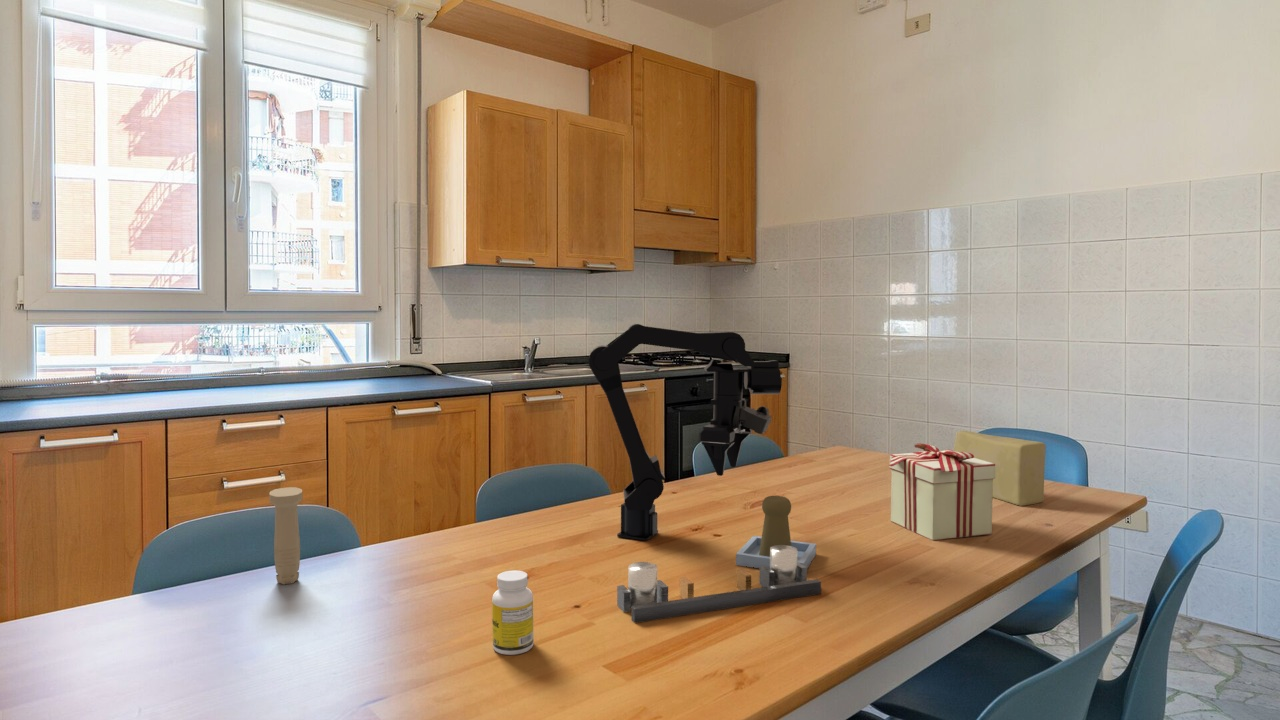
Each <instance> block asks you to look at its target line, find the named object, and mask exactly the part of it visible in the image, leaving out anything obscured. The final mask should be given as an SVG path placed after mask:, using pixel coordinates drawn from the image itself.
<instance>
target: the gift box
mask: <svg viewBox="0 0 1280 720" xmlns="http://www.w3.org/2000/svg"><path fill="white" fill-rule="evenodd" d="M914 448H918V449H921V450H920V451H915V452H914V451H913V452H907V453H905V452H904V453H892V454H889V464H888V466H889V469H890V470H891V477H890V478H891V481H890V483H891V484H890V486H891V487H890V522H892V523H894V524H896V525H898V526H900V527H903V528H904V529H906V530H909V531H911V532H913V533H915V534H918V536H919V535H920V536H921V537H923V538H926V539H928V540H930V541H938V540H949V539H960V538H968V537H969V538H970V537H977V536H986V535H992V534H993V533H992V532H993V499H994V498H993V479H995V464H994V463H991V462H987V461H984V460H980V459H977V458H974V455H973V454H971V453H966V452H955V451H954V449H945V450H941V449H939V448H938V447H937V446H934V445H931V444H926V443H921V442H920V443H916V444H914Z"/></svg>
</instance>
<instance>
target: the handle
mask: <svg viewBox="0 0 1280 720" xmlns="http://www.w3.org/2000/svg"><path fill="white" fill-rule="evenodd" d="M301 501H303V489H302V488H299V487H294V486H291V487H280V488H276V489H275V488H274V489H272V490H270V491H269V503H270V505H273V506H274V511H275V512H274V513H275V514H274V537H273V538H274V539H273V550H274V551H273V556H274V558H273V559H274V568H275V572H276V575H275V578H276V582H277V584H281V585H287V584H294V583H295V582H297V581H298V580H299V578H300V572H299V570H300V565H301V564H300V562H301V543H300V542H301V539H300V527H299V517H298V516H299V514H298V504H299V503H301Z"/></svg>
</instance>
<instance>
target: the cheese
mask: <svg viewBox="0 0 1280 720" xmlns="http://www.w3.org/2000/svg"><path fill="white" fill-rule="evenodd" d="M953 445H954V447H953V451H955V452H966V453H971V454H973V455H974V458H977V459H980V460H984V461H987V462H991V463H994V464H995V479H993V499H997V500H999V501H1003V502H1007V503H1008V504H1009V503H1010V504H1013V505H1015V506H1016V505H1017V506H1020V507H1023V506H1030V505H1034V504H1040V503H1042V502H1044V495H1045V493H1044V491H1045V473H1046V472H1045V469H1046V447H1047V446H1046V443H1045V442H1041V441H1035V440H1026V439H1021V438H1015V437H1006V436H998V435H991V434H986V433H980V432H974V431H968V430H958V431H956V433H955V439H954V444H953Z"/></svg>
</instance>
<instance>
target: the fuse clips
mask: <svg viewBox="0 0 1280 720" xmlns="http://www.w3.org/2000/svg"><path fill="white" fill-rule="evenodd" d="M627 570H628V571H627V572H628V575H627V578H628V583H627V584H628V585H627V587H626V586H625V585H624V584H622V585H621V584H620V585H617V586H616V587H617V588H616V589H617V590H616V606H617V607H618V608H619V609H620V610H621V611H622V612H623V613H629V611H630V612H631V619H630V620H631V621H632V622H633V623H634V624H637V622H638V623H643V622H649V621H657V620H662V619H669V618H670V619H671V618H675V617H683V616H688V615H689V616H690V615H694V614H702V613H707V612H714V611H719V610H727V609H734V608H739V607H745V606H751V605H758V604H764V603H771V602H772V603H773V602H777V601H778V600H779V601H783V600H790V599H797V598H804V597H811V596H816V595H821V594H822V581H821V580H819V579H817V578H816V579H809V580H808V579H807V578H808V568H807V567H806V566H804V565H802V564H800V563H798V562H797V549H796V548H795V547H792V546H787V545H775V546H772V547H770V569H769V568H767V567H766V566H761V567H760V568H759V582H758V583H759V586H760V587H755V588H752V574H751V573H749V572H747V571H746V570H744V569H743V568H740V569H736V585H735V587H736V589H737V590H734V591H727V592H721V593H714V594H708V595H701V596H694V591H695V590H694V589H695V588H694V586H695V585H694V584H695V583H694V582H693V581H692V580H691V579H689V578H688V577H686V576H681V577H679V597H680V599H674V600H669V586H668V584H666V583H664V581H663V580H661V579H658V566H657V564H655V563H652V562H646V561H638V562H634V563H631V564H629V565H628V569H627ZM682 615H683V616H682ZM656 619H657V620H656Z"/></svg>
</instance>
